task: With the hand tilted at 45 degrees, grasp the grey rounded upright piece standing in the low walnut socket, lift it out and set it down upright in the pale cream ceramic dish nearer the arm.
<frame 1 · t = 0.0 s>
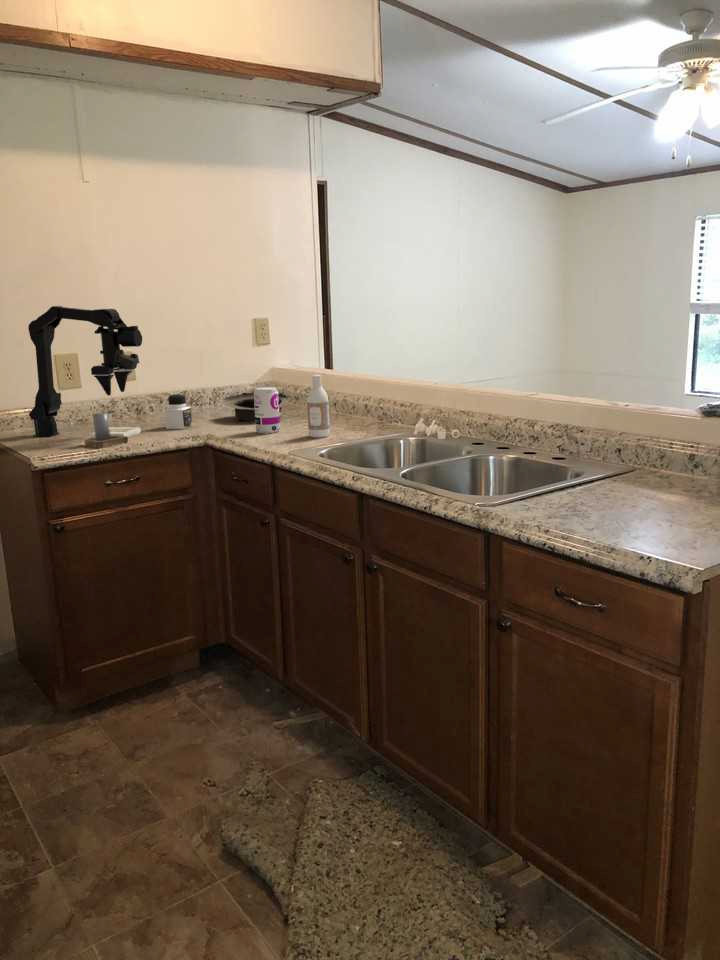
hand: (115, 393, 265), 15 cm above the worktop, tool pointing down, fingers open, 9 cm apart
medicine bottle: (179, 428, 282), on the worktop
bath foam: (319, 436, 258), on the worktop
socket: (103, 444, 254), on the worktop
stone bowl: (258, 419, 298), on the worktop
supplement can: (268, 432, 268), on the worktop
grey rounded upright piece: (101, 428, 253), in the socket
dish: (116, 436, 268), on the worktop
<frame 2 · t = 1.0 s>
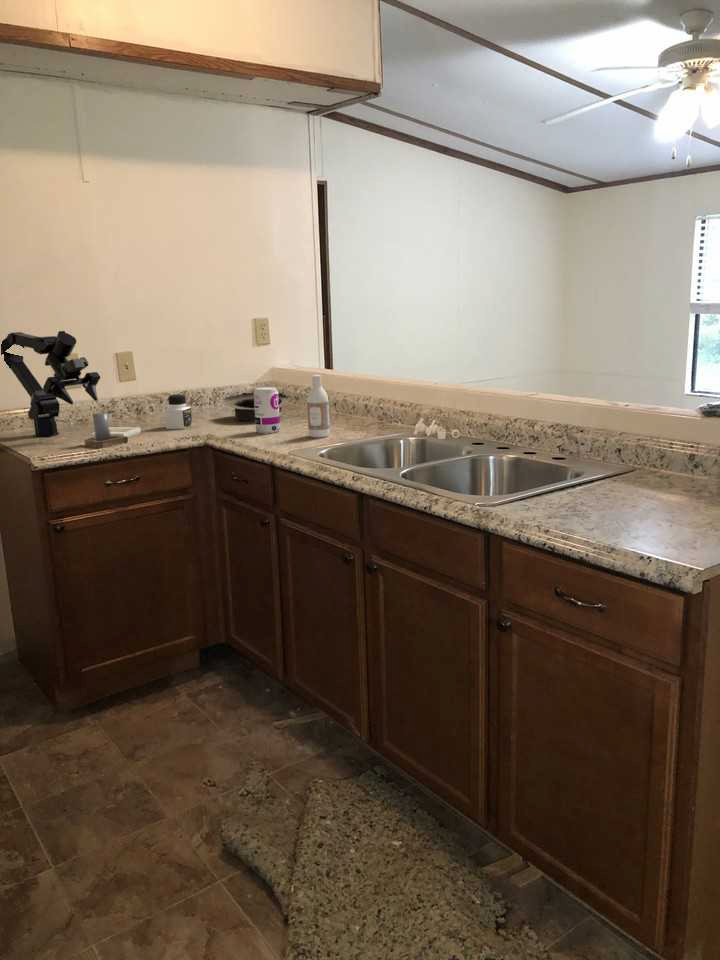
hand: (84, 401, 256), 13 cm above the worktop, tool tilted 45°, fingers open, 9 cm apart
nothing on the worktop moved.
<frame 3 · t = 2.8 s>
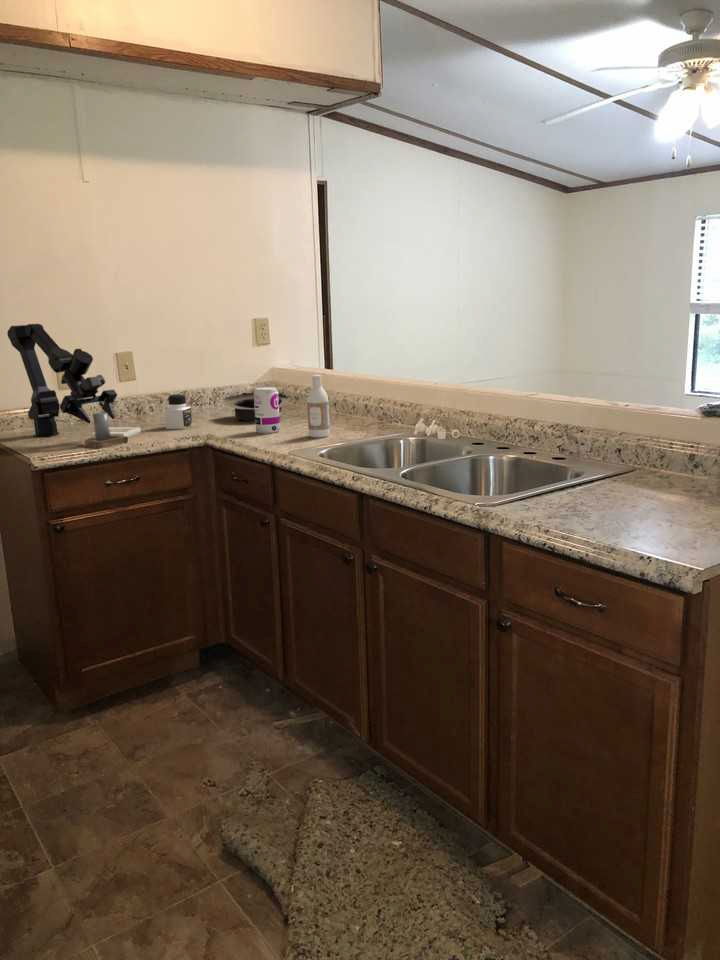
hand: (102, 420, 252), 8 cm above the worktop, tool tilted 45°, fingers open, 9 cm apart
nothing on the worktop moved.
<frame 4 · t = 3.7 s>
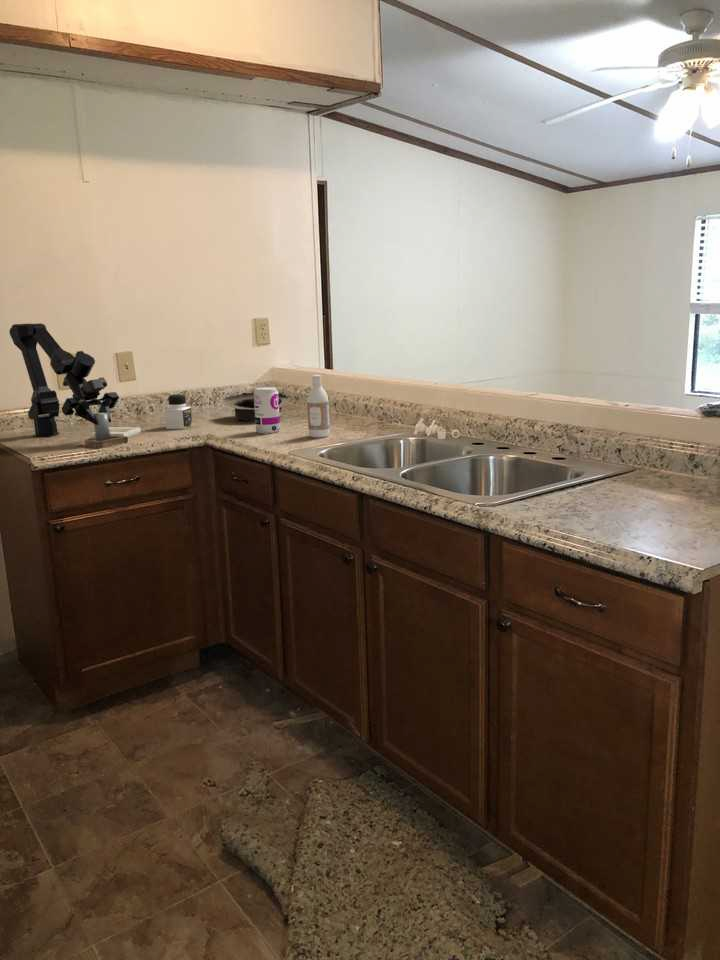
hand: (103, 422, 252), 7 cm above the worktop, tool tilted 45°, fingers closed on grey rounded upright piece, 5 cm apart
grey rounded upright piece: (102, 428, 253), in the socket, touching gripper
everything else where it was.
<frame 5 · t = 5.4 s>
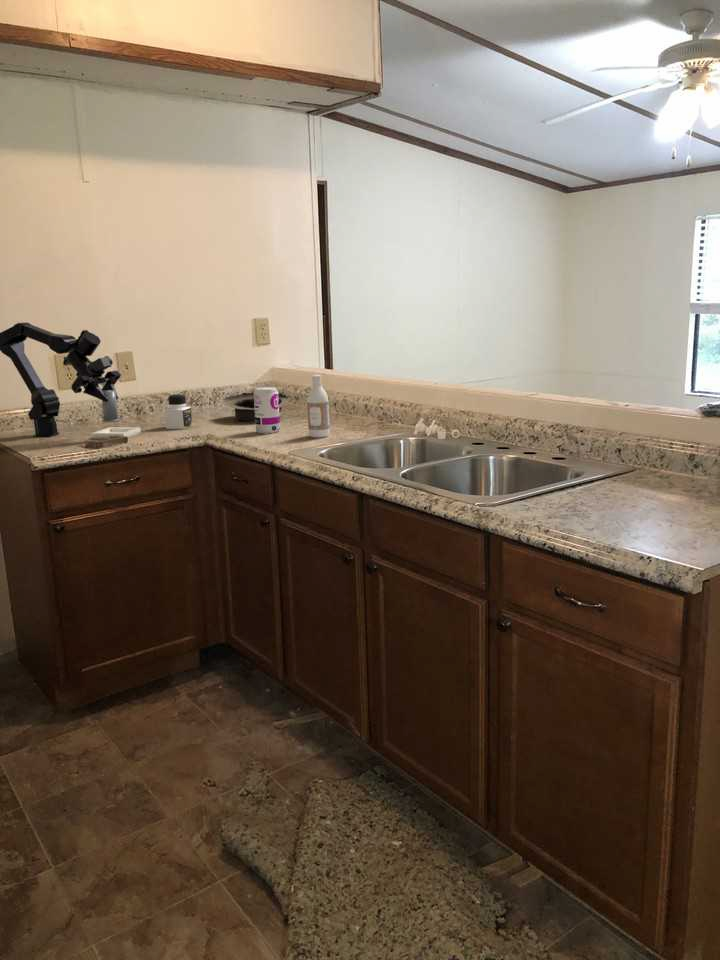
hand: (112, 400, 259), 13 cm above the worktop, tool tilted 45°, fingers closed on grey rounded upright piece, 5 cm apart
grey rounded upright piece: (109, 406, 260), point 11 cm above the worktop, touching gripper
everything else where it was.
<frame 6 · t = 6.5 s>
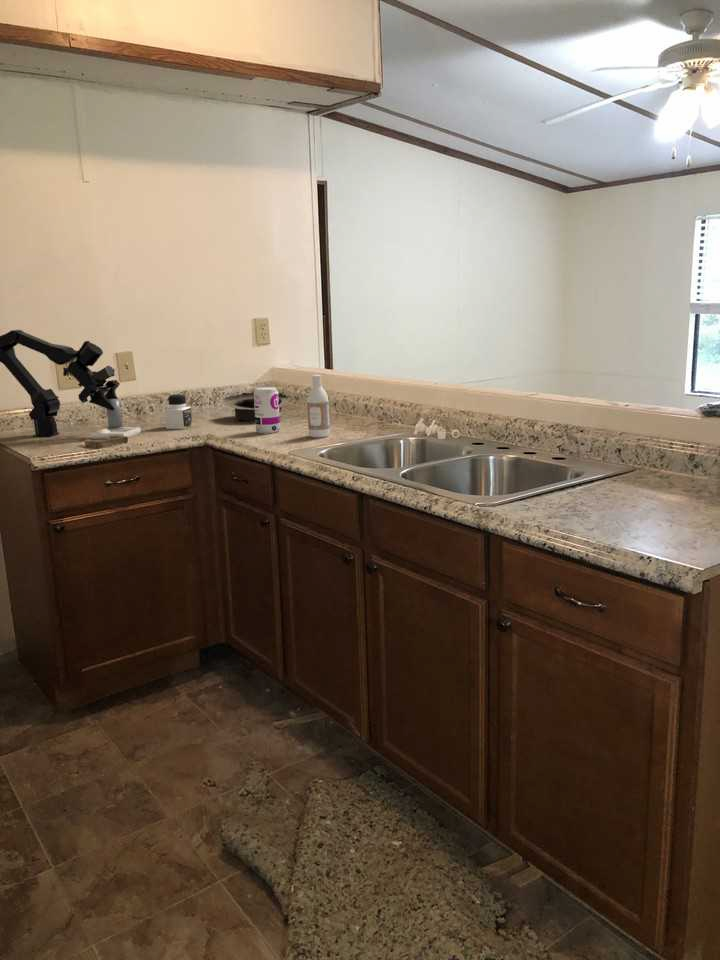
hand: (117, 408, 266), 10 cm above the worktop, tool tilted 45°, fingers closed on grey rounded upright piece, 5 cm apart
grey rounded upright piece: (114, 414, 266), point 8 cm above the worktop, touching gripper
everything else where it was.
when the fingers open (8 cm above the worktop, at t = 7.1 s): grey rounded upright piece stays where it is, resting on dish.
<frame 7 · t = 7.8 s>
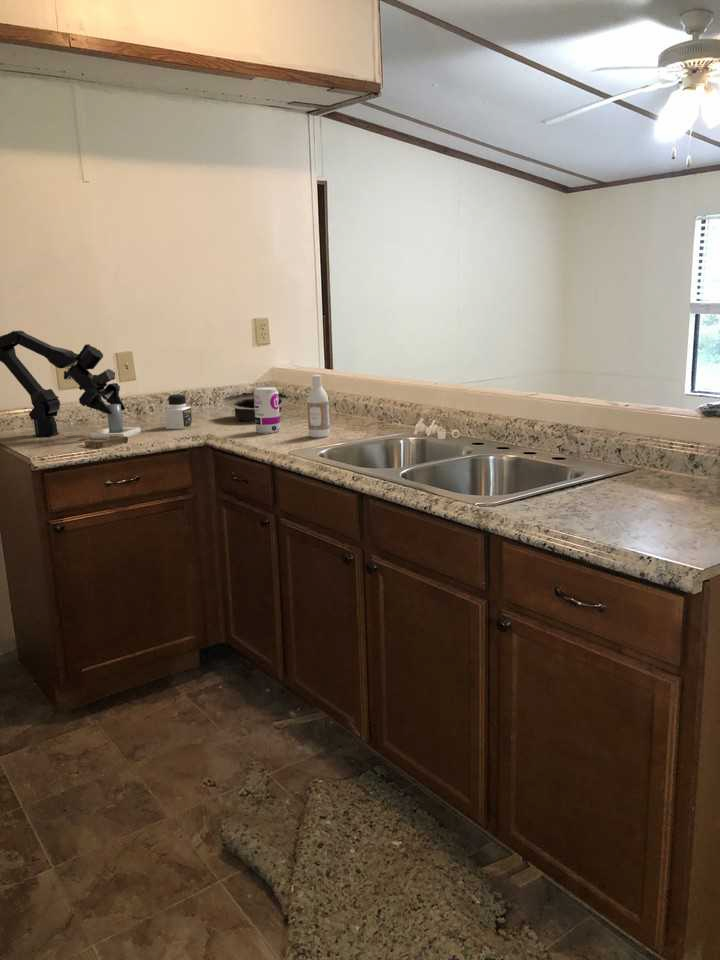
hand: (117, 411, 266), 9 cm above the worktop, tool tilted 45°, fingers open, 9 cm apart
grey rounded upright piece: (114, 419, 267), in the dish, point 6 cm above the worktop
everything else where it was.
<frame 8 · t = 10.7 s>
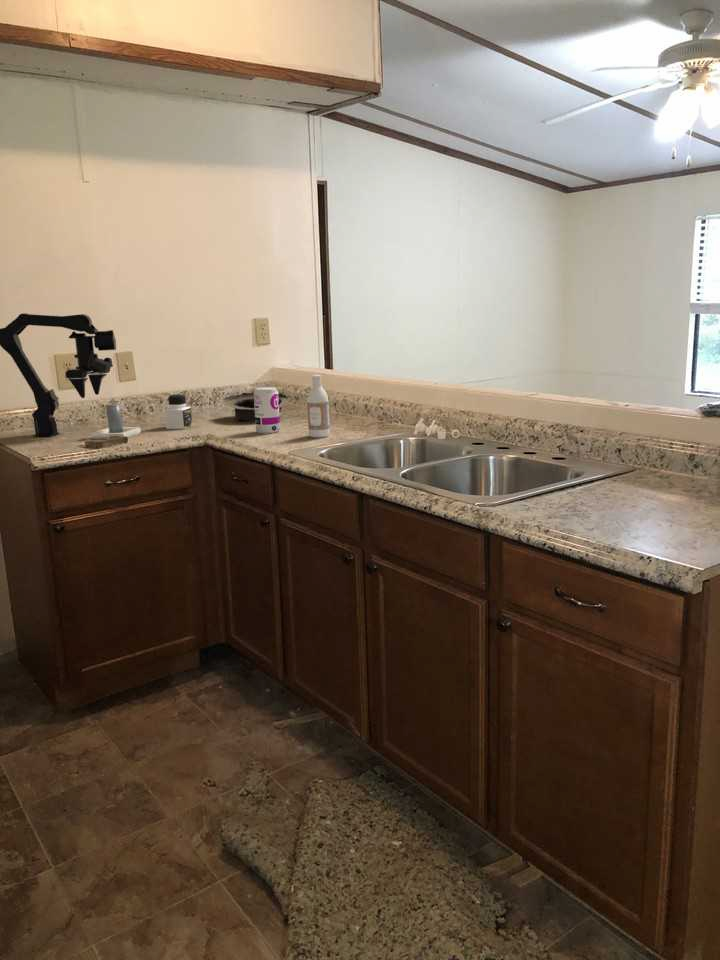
hand: (90, 396, 273), 13 cm above the worktop, tool pointing down, fingers open, 9 cm apart
nothing on the worktop moved.
at the end: grey rounded upright piece inside the target area on the dish (0.0 cm from its centre), point 5.8 cm above the dish's base; grey rounded upright piece tilted 1°; the gripper is holding nothing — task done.
